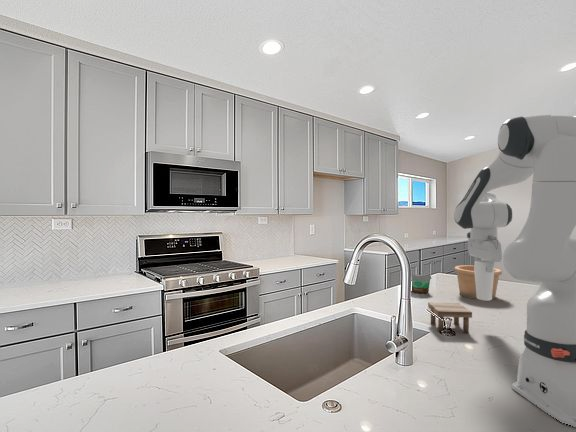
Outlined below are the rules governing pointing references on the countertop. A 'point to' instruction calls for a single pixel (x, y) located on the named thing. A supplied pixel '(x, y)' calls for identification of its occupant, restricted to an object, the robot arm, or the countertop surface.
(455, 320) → the walnut stool
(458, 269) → the pottery
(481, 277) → the drinking glass
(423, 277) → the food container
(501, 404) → the countertop surface
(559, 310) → the robot arm
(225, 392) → the countertop surface
